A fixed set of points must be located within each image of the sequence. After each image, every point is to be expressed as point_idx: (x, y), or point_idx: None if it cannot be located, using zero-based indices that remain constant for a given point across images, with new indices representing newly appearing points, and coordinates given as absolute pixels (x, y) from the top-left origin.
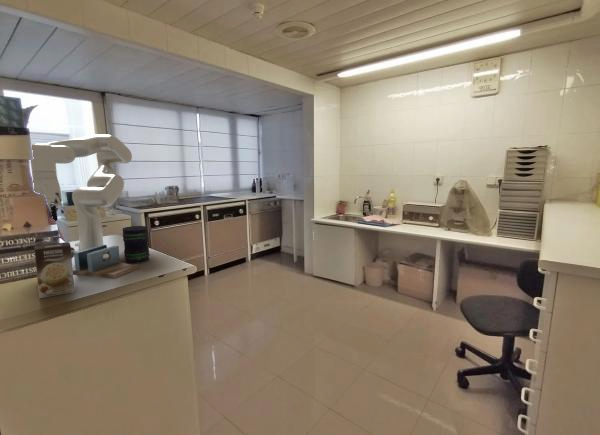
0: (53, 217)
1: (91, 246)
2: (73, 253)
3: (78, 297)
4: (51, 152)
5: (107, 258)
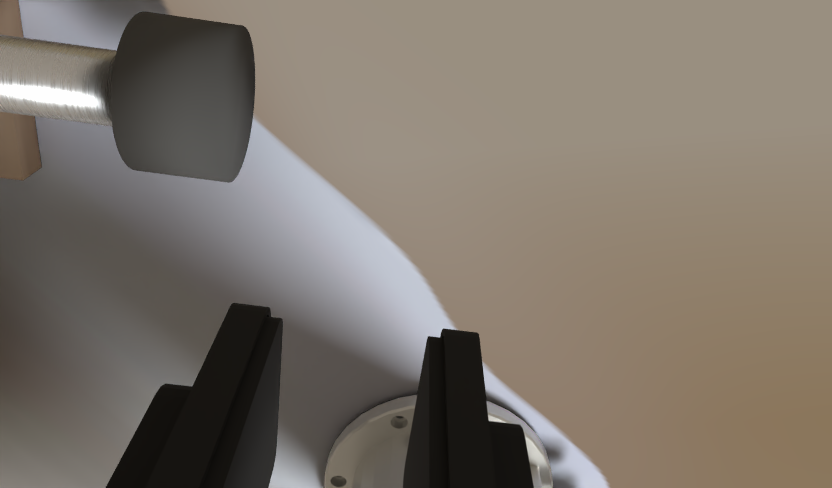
0: (148, 430)
1: (380, 474)
2: (22, 45)
3: None
4: None
5: None
